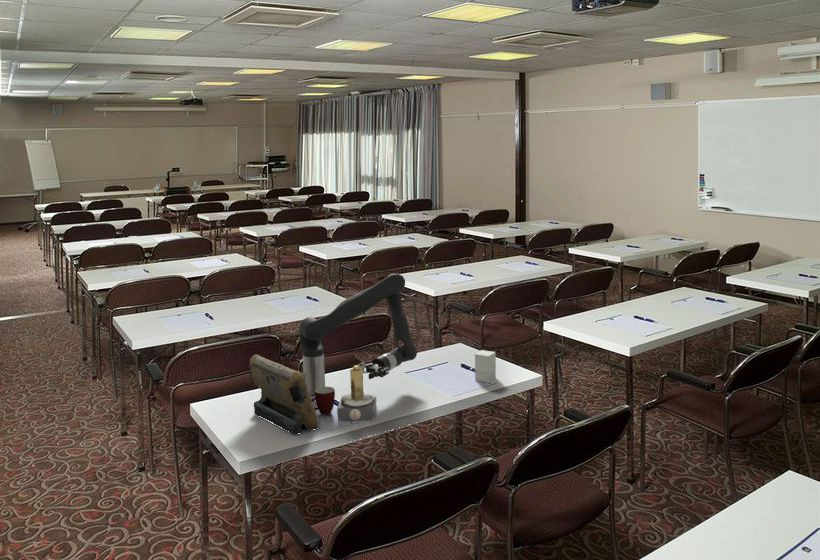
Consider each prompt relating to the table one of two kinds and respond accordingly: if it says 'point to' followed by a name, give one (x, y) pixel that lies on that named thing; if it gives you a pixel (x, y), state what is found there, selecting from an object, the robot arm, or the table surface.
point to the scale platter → (365, 401)
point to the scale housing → (357, 411)
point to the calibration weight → (356, 383)
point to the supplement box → (485, 366)
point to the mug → (324, 399)
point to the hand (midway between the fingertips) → (360, 374)
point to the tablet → (282, 396)
